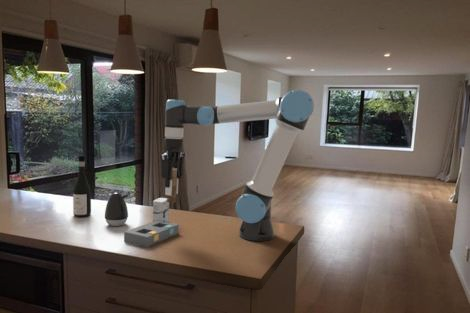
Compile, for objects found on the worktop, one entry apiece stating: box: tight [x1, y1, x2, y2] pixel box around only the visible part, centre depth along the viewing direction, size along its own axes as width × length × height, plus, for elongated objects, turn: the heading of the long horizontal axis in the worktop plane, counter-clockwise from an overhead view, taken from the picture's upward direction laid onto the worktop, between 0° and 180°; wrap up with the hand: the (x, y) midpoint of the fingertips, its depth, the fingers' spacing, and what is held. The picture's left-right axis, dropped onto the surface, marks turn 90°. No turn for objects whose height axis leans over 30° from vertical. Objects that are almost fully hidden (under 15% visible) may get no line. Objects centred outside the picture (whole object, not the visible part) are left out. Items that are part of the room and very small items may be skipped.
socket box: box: [123, 220, 179, 248], centre depth 154 cm, size 12×20×4 cm, turn 153°
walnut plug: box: [166, 168, 177, 203], centre depth 153 cm, size 4×4×14 cm
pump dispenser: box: [104, 191, 129, 227], centre depth 170 cm, size 10×10×15 cm
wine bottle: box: [72, 154, 92, 218], centre depth 182 cm, size 8×8×30 cm
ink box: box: [152, 197, 170, 223], centre depth 173 cm, size 8×5×12 cm, turn 168°
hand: (171, 194), depth 154 cm, fingers closed on walnut plug, 3 cm apart
